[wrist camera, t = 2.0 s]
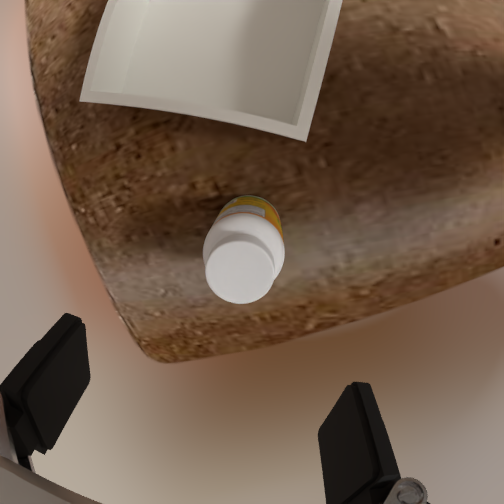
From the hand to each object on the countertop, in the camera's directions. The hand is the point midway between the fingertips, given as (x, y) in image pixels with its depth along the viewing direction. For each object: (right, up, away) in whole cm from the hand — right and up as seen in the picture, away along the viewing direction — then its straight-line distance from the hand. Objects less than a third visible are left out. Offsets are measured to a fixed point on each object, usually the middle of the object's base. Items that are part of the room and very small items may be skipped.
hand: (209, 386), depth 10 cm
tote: (0, +24, +10) cm, 26 cm away
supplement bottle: (+1, +7, +17) cm, 19 cm away
